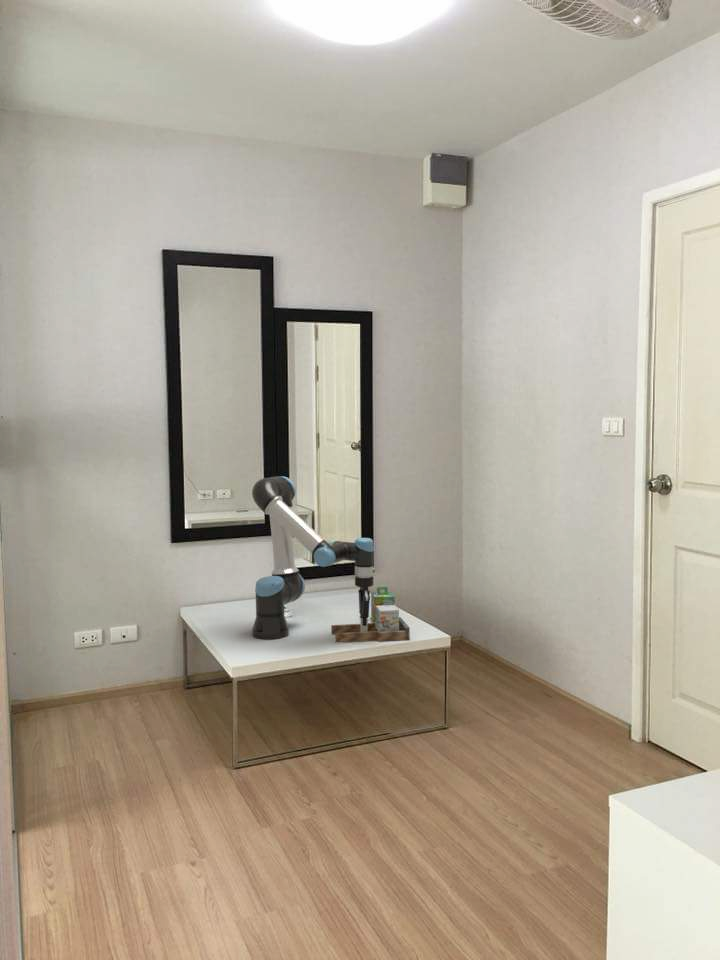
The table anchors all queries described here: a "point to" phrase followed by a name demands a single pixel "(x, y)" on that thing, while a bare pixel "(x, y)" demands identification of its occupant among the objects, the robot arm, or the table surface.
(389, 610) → the ink box
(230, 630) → the table surface
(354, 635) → the brown low open piece
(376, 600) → the chalk box
